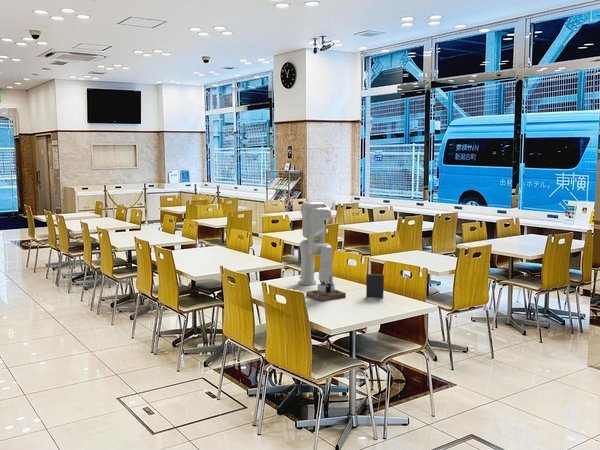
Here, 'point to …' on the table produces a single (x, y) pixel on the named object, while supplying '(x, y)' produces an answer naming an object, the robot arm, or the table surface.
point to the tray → (319, 297)
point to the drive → (324, 288)
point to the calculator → (375, 285)
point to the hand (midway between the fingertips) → (325, 291)
